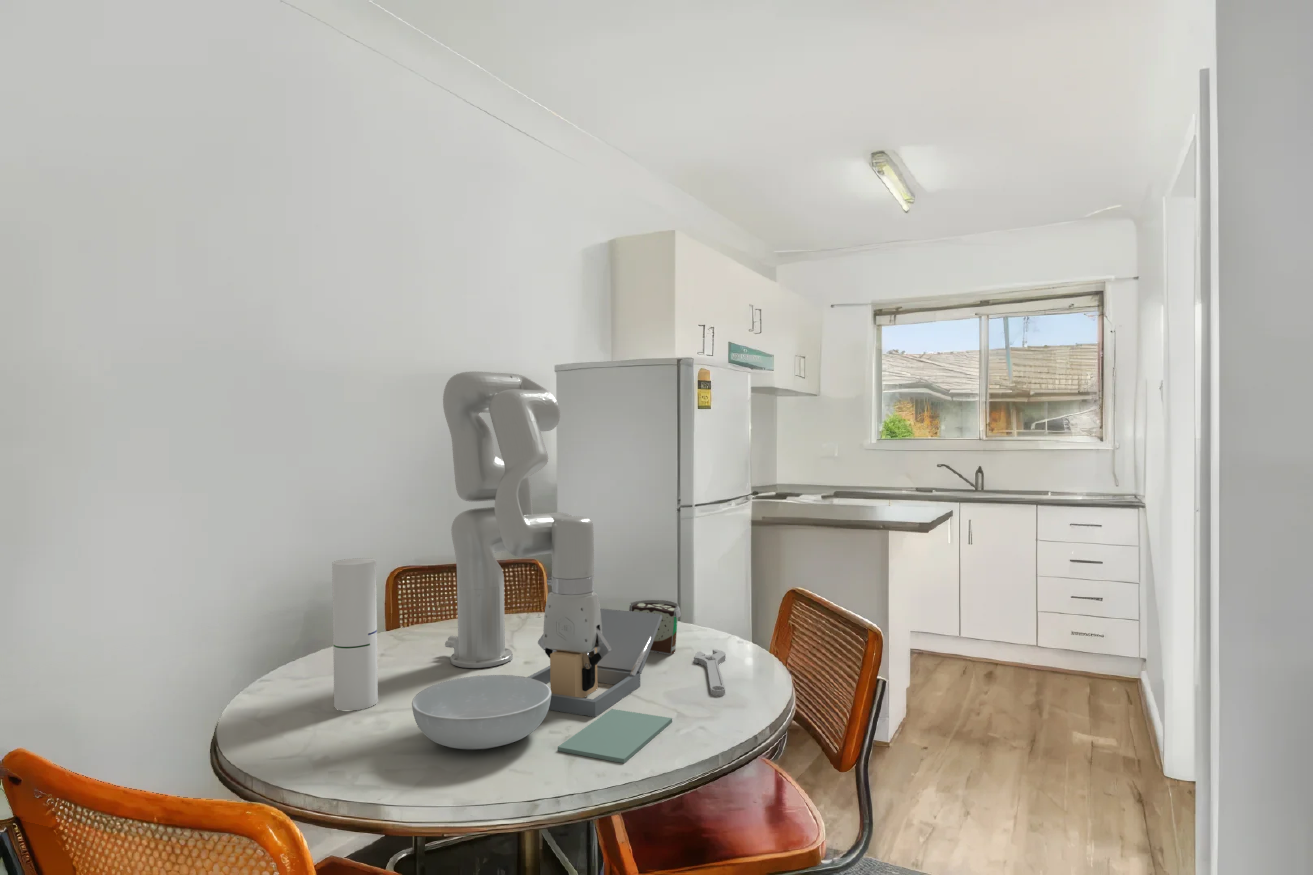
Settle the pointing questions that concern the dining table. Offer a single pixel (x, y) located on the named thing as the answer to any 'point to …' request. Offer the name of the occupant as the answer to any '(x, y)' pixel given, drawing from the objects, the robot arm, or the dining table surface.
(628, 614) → the equipment case
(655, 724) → the rubber mat
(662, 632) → the food container
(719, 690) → the adjustable wrench
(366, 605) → the cylindrical container
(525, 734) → the serving bowl
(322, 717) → the dining table surface
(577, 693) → the block
